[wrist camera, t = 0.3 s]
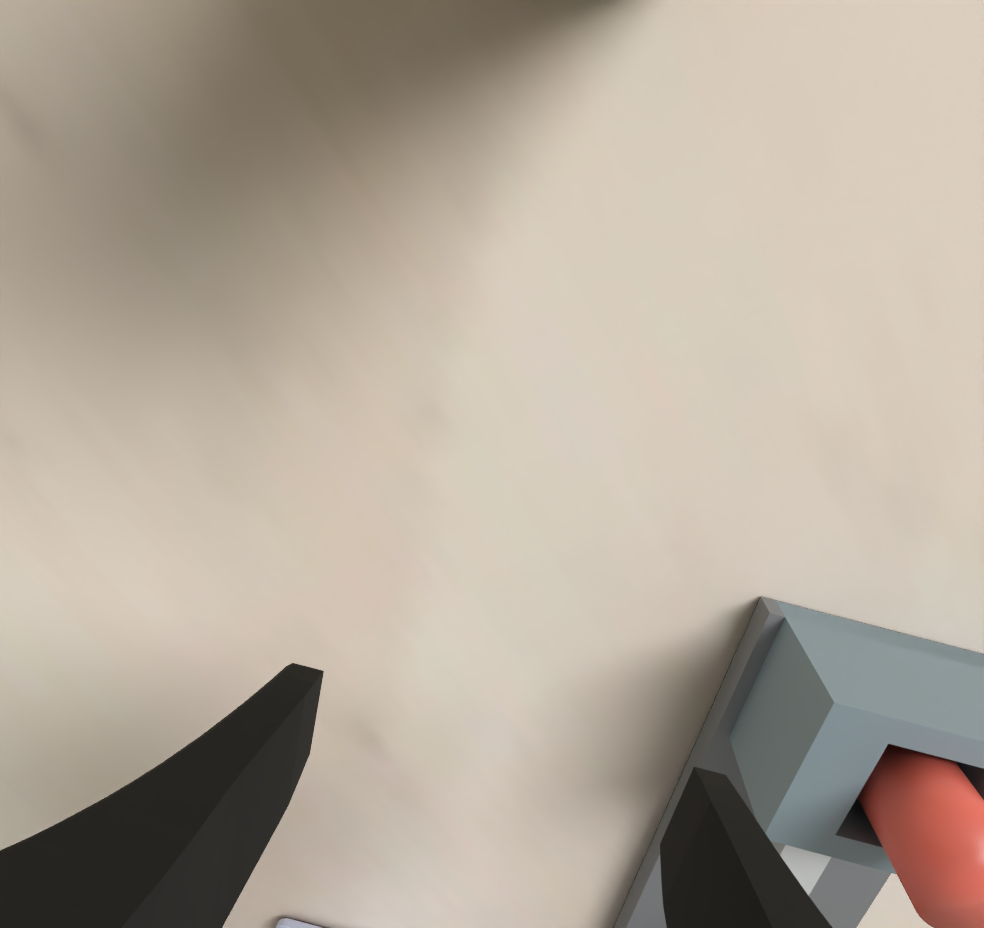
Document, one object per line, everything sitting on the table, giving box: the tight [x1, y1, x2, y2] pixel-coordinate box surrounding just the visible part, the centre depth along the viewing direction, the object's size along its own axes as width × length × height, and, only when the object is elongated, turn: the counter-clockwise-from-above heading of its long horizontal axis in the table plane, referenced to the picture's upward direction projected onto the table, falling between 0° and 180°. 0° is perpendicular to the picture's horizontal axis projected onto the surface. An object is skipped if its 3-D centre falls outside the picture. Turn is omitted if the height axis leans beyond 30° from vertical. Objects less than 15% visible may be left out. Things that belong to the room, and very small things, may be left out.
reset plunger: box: [857, 744, 984, 928], centre depth 17 cm, size 3×3×4 cm
